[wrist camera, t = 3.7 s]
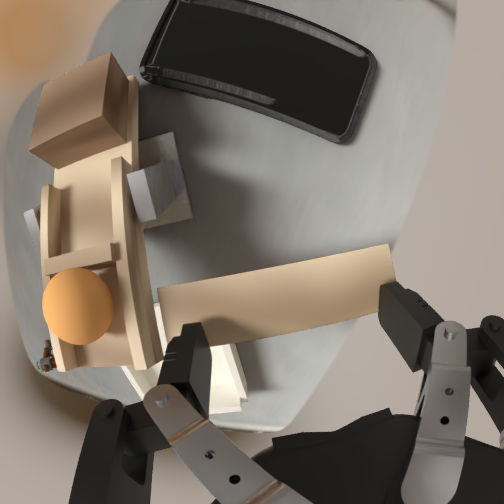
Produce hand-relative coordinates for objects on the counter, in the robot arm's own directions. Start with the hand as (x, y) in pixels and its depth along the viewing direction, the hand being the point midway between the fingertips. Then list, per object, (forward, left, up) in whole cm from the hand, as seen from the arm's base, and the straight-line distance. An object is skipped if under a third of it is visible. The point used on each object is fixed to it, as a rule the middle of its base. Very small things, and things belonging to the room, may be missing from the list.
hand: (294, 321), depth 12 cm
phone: (-13, +2, -10) cm, 17 cm away
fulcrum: (-6, -9, -9) cm, 15 cm away
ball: (-3, -9, 0) cm, 10 cm away
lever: (-6, -4, -5) cm, 8 cm away
